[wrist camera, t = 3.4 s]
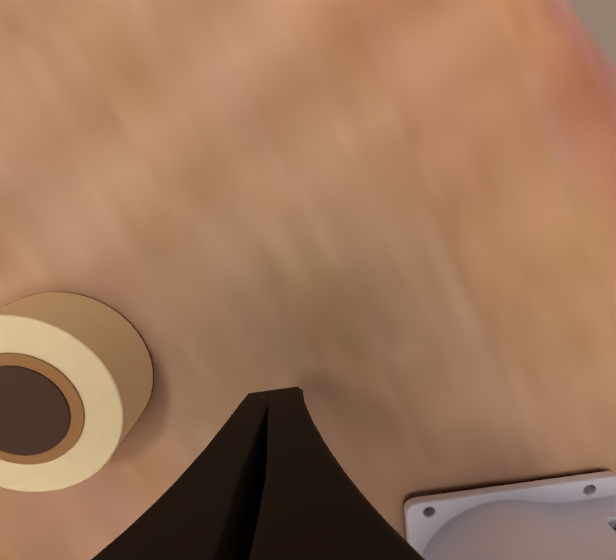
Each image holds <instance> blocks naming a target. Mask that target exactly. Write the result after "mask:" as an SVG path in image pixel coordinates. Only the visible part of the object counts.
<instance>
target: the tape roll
mask: <svg viewBox="0 0 616 560" xmlns="http://www.w3.org/2000/svg"><path fill="white" fill-rule="evenodd" d="M152 386H153V368H152V363H151V359H150V356H149V353H148V350H147V348H146V346H145V344H144V342H143V340H142V338H141V337H140V335H139V334H138V332H137V331H136V330H135V329H134V327H133V326H132V325H131V324H130V323H129V322H128V321H127V320H126V319H125V318H124V317H123V316H121V315H120V314H119V313H117V312H116V311H115V310H113V309H112V308H110V307H108V306H107V305H105V304H103V303H101V302H99V301H96V300H94V299H92V298H89V297H85V296H82V295H78V294H72V293H65V292H48V293H40V294H35V295H31V296H29V297H26V298H23V299H20V300H18V301H15V302H12V303H10V304H7V305H5V306H2V307H0V487H3V488H7V489H12V490H18V491H26V492H44V491H53V490H58V489H63V488H67V487H70V486H73V485H75V484H78V483H80V482H82V481H84V480H86V479H87V478H89V477H91V476H92V475H94V474H95V473H96V472H98V471H99V470H100V469H101V468H102V467H103V466H104V465H105V464H106V463H107V462H108V461H109V459H110V458H111V457H112V455H113V454H114V453H115V451H116V450H117V448H118V447H119V445H120V444H121V443H122V441H123V440H124V438H125V437H126V435H127V434H128V432H129V431H130V430H131V428H132V427H133V425H134V424H135V422H136V421H137V419H138V418H139V417H140V415H141V414H142V412H143V411H144V409H145V407H146V406H147V403H148V401H149V399H150V395H151V391H152Z"/></svg>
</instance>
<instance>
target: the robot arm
mask: <svg viewBox="0 0 616 560" xmlns="http://www.w3.org/2000/svg"><path fill="white" fill-rule="evenodd" d="M427 507H430V508H428V509H425V508H427ZM404 516H405V528H406V540H407V541H406V540H405V539H404V538H403V537H402V536H401V535H400V534H399V533H398V532H397V531H396V530H395V529H394V528H393V527H392V526H391V525H390V524H388V523H387V521H386V520H385V519H384V518H383V517H382V516H381V515H380V514H379V513H378V512H377V510H376V509H375V508H374V507H373V506H372V505H371V504H370V503H369V501H368V500H367V499H366V498H365V497H364V496H363V494H362V493H361V492H360V491H359V489H358V488H357V487H356V486H355V485H354V483H353V482H352V481H351V480H350V478H349V477H348V476H347V474H346V473H345V472H344V470H343V469H342V467H341V466H340V465H339V463H338V462H337V460H336V459H335V457H334V456H333V454H332V453H331V452H330V450H329V448H328V447H327V445H326V444H325V442H324V441H323V439H322V437H321V435H320V433H319V432H318V430H317V428H316V426H315V425H314V423H313V421H312V419H311V417H310V414H309V412H308V410H307V408H306V405H305V402H304V397H303V390H301V389H300V388H299V387H292V388H284V389H277V390H270V391H263V392H255V393H249V394H248V395H247V396H246V397H245V399H244V400H243V401H242V402H241V404H240V405H239V406H238V407H237V409H236V410H235V411H234V413H233V414H232V415H231V417H230V418H229V419H228V421H227V422H226V423H225V424H224V426H223V427H222V428H221V430H220V431H219V432H218V433H217V435H216V436H215V437H214V438H213V439H212V441H211V442H210V443H209V444H208V446H207V447H206V448H205V449H204V451H203V452H202V453H201V454H200V455H199V456H198V457H197V458H196V460H195V461H194V462H193V463H192V464H191V465H190V466H189V467H188V469H187V470H186V471H185V472H184V473H183V474H182V475H181V476H180V478H179V479H178V480H177V481H176V482H175V483H174V484H173V485H172V486H171V487H170V488H169V489H168V490H167V491H166V492H165V493H164V494H163V495H162V496H161V497H160V498H159V499H158V500H157V501H156V502H155V503H154V504H153V505H152V506H151V507H150V508H149V509H148V510H147V511H146V512H145V513H144V514H143V515H142V516H141V517H139V518H138V519H137V520H136V521H135V522H134V523H133V524H132V525H131V526H130V527H129V528H128V529H127V530H125V531H124V532H123V533H122V534H121V535H120V536H119V537H117V538H116V539H115V540H114V541H113V542H112V543H110V544H109V545H108V546H107V547H106V548H104V549H103V550H102V551H101V552H100V553H99V554H97V555H96V556H95V557H94V558H93V559H91V560H616V474H615V473H614V472H611V471H603V472H596V473H588V474H581V475H574V476H566V477H559V478H552V479H545V480H537V481H530V482H523V483H515V484H508V485H501V486H493V487H486V488H479V489H472V490H464V491H457V492H450V493H442V494H435V495H428V496H420V497H414V498H410V499H409V500H408V501H406V503H405V504H404Z"/></svg>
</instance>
